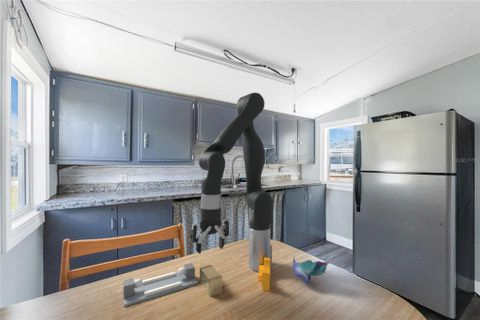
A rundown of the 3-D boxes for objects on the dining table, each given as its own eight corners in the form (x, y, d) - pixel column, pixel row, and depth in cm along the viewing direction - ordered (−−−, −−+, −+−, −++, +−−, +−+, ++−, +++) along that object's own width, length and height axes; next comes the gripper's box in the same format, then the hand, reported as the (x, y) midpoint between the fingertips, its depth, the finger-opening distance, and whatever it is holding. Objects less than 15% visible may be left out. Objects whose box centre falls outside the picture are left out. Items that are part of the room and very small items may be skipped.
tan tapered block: (199, 282, 79) (199, 267, 79) (210, 278, 82) (210, 264, 82) (210, 296, 71) (210, 280, 71) (222, 292, 73) (222, 276, 73)
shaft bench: (189, 271, 86) (189, 259, 86) (197, 284, 78) (197, 270, 78) (122, 290, 74) (123, 276, 74) (124, 307, 65) (124, 291, 65)
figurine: (332, 284, 78) (332, 260, 78) (315, 297, 71) (315, 271, 71) (302, 270, 88) (302, 249, 88) (284, 280, 81) (284, 257, 81)
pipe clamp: (259, 272, 87) (259, 257, 87) (270, 273, 86) (270, 257, 86) (257, 290, 75) (257, 272, 75) (269, 291, 74) (269, 273, 74)
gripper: (223, 202, 83) (223, 243, 83) (188, 206, 76) (188, 250, 76) (232, 206, 77) (232, 250, 77) (195, 210, 69) (194, 259, 69)
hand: (210, 250), depth 76 cm, fingers open, 8 cm apart
